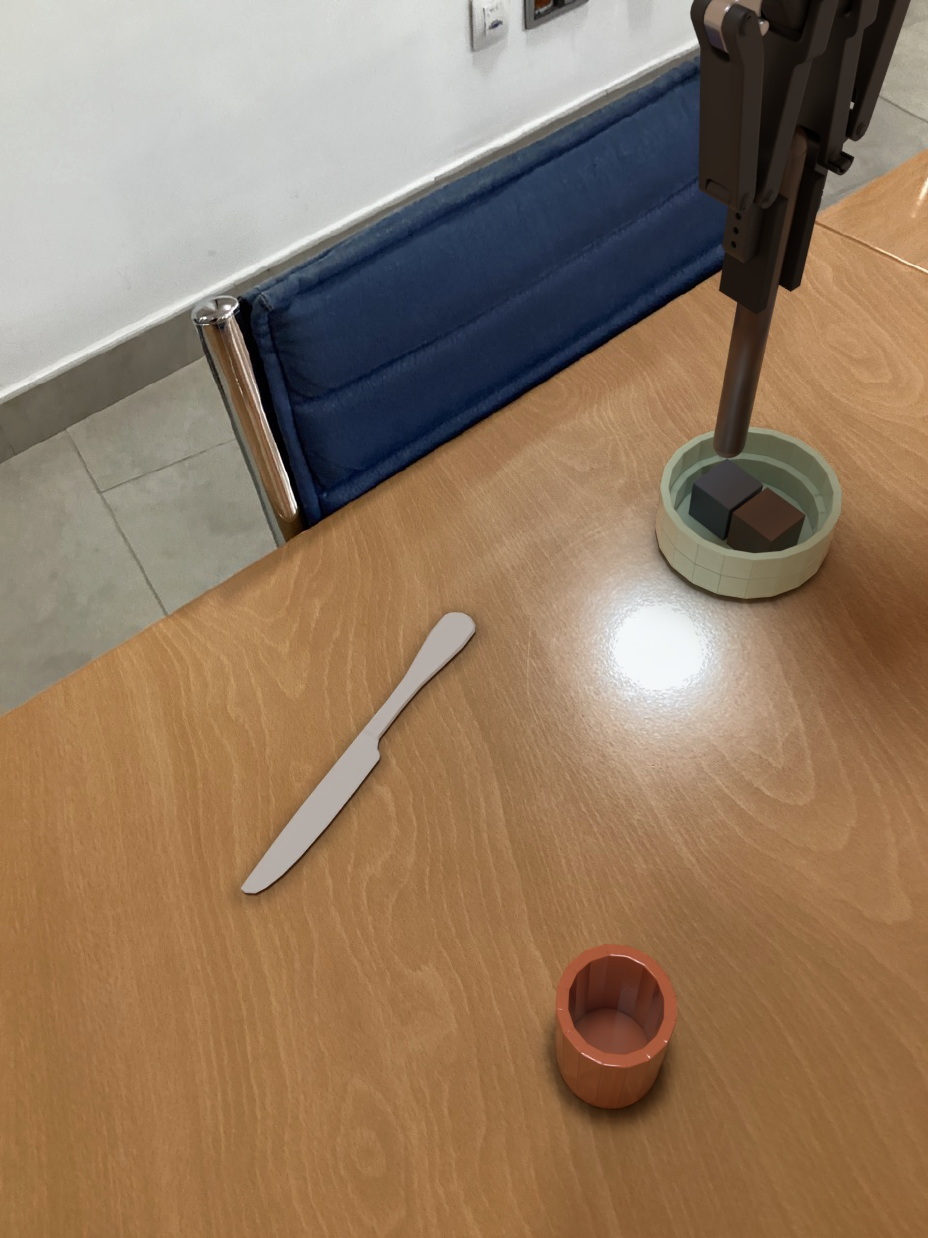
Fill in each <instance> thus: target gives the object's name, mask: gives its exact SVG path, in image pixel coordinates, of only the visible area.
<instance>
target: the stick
mask: <svg viewBox="0 0 928 1238" xmlns="http://www.w3.org/2000/svg"><path fill="white" fill-rule="evenodd" d="M807 149H808V138H807V135H806V133H805V131H804V130H803V129H802V128H801V127H800V126H798V125H796V127H795V130H794V134H793V138H792V142H791V146H790V150H789V154H788V158H787V162H786V166H785V169H784V173H783V177H782V181H781V185H780V189H779V194H781V195H783V196H785V197H786V198H788V199H789V200H788V205H787V210H786V215H785V220H784V225H783V230H782V235H781V239H780V244H779V249H778V254H777V259H776V264H775V269H774V274H773V279H772V284H771V288H770V293H769V298H768V303H767V308H766V309H765V310H763V311H762V312H760V313H759V314H757V315H756V314H755V313H753V312H751V311H750V310H748V309H747V308H745V307H744V306H742V305H740V304H739V303H737V302H736V307H735V312H734V318H733V323H732V330H731V335H730V342H729V347H728V352H727V357H726V364H725V370H724V376H723V381H722V387H721V391H720V399H719V404H718V411H717V415H716V422H715V426H714V427H715V428H714V430H715V432H714V438H713V447H714V450H715V451H716V453H717V454H718V455H720V456H721V457H723V458H734V457H736V456H738V455H739V454H740V453H741V452H742V451H743V450H744V447H745V444H746V439H747V434H748V429H749V426H750V424H751V420H752V414H753V411H754V407H755V401H756V396H757V392H758V387H759V381H760V376H761V372H762V366H763V363H764V358H765V353H766V348H767V342H768V339H769V334H770V329H771V324H772V320H773V316H774V310H775V305H776V301H777V296H778V291H779V286H780V285H779V282H780V277H781V273H782V268H783V263H784V258H785V254H786V249H787V244H788V239H789V235H790V230H791V225H792V220H793V216H794V211H795V206H796V201H797V197H798V192H799V187H800V183H801V178H802V173H803V168H804V164H805V159H806V154H807Z"/></svg>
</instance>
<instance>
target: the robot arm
mask: <svg viewBox="0 0 928 1238" xmlns="http://www.w3.org/2000/svg"><path fill="white" fill-rule="evenodd" d="M911 1H912V0H693V1H692V3H691V6H690V10H689V16H690V21H691V24H692V27H693V30H694V33H695V36H696V39H697V42H698V45H699V54H700V55H699V110H698V111H699V116H698V117H699V119H698V120H699V121H698V122H699V124H698V190H699V191H700V192H701V193H703V194H704V195H705V194H706V195H707V196H708V197H710V198H712V199H714V200H716V201H717V202H718V203H721V204H723V205H725V206H726V207H727V211H726V216H725V217H726V218H725V224H724V230H723V236H722V237H723V238H722V243H721V244H722V249H723V252H724V253H723V261H722V267H721V274H720V279H719V280H720V281H719V287H718V292H720V293H721V294H723V295H725V296H726V297H727V298H729V299H730V300H732V301H734V302H735V303H736V304H737V303H739V304H740V305H742V306H744V307H745V308H747V309H748V310H750V311H751V312H753V313H755V314H756V315H757V314H759V313H760V312H762V311H763V310H765V309H766V308H767V303H768V298H769V293H770V288H771V284H772V279H773V274H774V269H775V264H776V259H777V254H778V249H779V244H780V239H781V235H782V230H783V225H784V220H785V215H786V210H787V205H788V200H789V199H788V198H786V197H785V196H783V195H781V194H779V189H780V185H781V181H782V177H783V173H784V169H785V166H786V162H787V158H788V154H789V150H790V146H791V142H792V138H793V134H794V130H795V127H796V125H798V126H800V127H801V128H802V129H803V130H804V131H805V133H806V135H807V138H808V149H807V154H806V159H805V164H804V168H803V173H802V178H801V183H800V187H799V192H798V197H797V201H796V206H795V211H794V216H793V220H792V225H791V230H790V235H789V239H788V244H787V249H786V254H785V258H784V263H783V268H782V273H781V277H780V282H779V286H780V287H781V288H783V289H785V290H786V291H788V292H790V293H792V292H793V291H794V290H797V288H800V287H801V285H802V279H803V277H804V276H803V275H804V271H805V267H806V263H807V258H808V253H809V250H810V246H811V242H812V237H813V233H814V228H815V224H816V220H817V215H818V212H819V210H820V208H821V205H822V200H823V195H824V190H825V186H826V182H827V179H828V174H829V172H831V173H833V174H834V175H837V176H839V177H840V176H841V177H842V176H844V175H845V174H846V173H847V172H848V171H849V170H850V168H851V167H852V165H853V163H854V160H855V157H856V156H854V155H852V154H850V153H847V152H846V151H844V150H843V148H844V144H845V143H846V142H847V141H849V140H850V141H852V142H854V143H856V142H859V141H860V140H861V139H862V138H863V137H864V136H865V135H866V132H867V131H868V128H869V127H870V123H871V120H872V117H873V115H874V111H875V109H876V106H877V103H878V100H879V96H880V93H881V91H882V87H883V85H884V81H885V79H886V76H887V74H888V70H889V66H890V64H891V61H892V58H893V54H894V51H895V49H896V47H897V43H898V40H899V36H900V34H901V32H902V31H901V30H902V28H903V25H904V22H905V20H906V16H907V14H908V11H909V7H910V3H911ZM851 103H853V105H852V107H851Z"/></svg>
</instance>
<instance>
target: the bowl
mask: <svg viewBox="0 0 928 1238" xmlns="http://www.w3.org/2000/svg"><path fill="white" fill-rule="evenodd" d="M714 432H715V429H714V430H711V431H707V432H705V433H702V434H698V435H696V436H694V437H693V438H691V439H690V440H689V441H687V442H686V443H684V444H683V445H682V446H680V447H678V448H677V449H676V450H675V452H674V453H673V454H672V456H671V457H670V459H669V460H668V461H667V463H665V465H664V468H663V472H662V475H661V479H660V485H659V493H658V500H657V509H656V517H655V518H656V519H655V526H654V527H655V532H656V537H657V538H656V539H657V543H658V547H659V549H660V551H661V552H662V554H663V555H664V557H665V559H666V560H667V562H668V563H669V565H670V566H671V567H672V568H673V569H674V570H675V571H677V572H678V574H680V575H682V577H684V578H685V579H686V580H687V581H689V582H690V583H692V584H693V585H695V586H697V587H700V588H702V589H705V590H707V591H709V592H711V593H714V594H717V595H721V596H728V597H732V598H733V597H734V598H739V599H745V600H747V599H757V598H758V599H760V598H771V597H775V596H778V595H780V594H783V593H786V592H789V591H791V590H794V589H796V588H799V587H801V585H803V584H804V583H805V582H807V581H808V580H809V579H810V578H812V577H813V576H814V575H815V574H817V572H819V569H820V568H821V566H822V564H823V562H824V560H825V559H826V557H827V555H828V552H829V550H830V546H831V543H832V541H833V538H834V535H835V531H836V530H837V529H836V528H837V526H838V523H839V520H840V517H841V514H842V504H843V490H842V487H841V484H840V482H839V478H838V475H837V472H836V471H835V469H833V467H832V466H831V465H830V463H829V462H828V461H827V460H826V459H825V457H824V456H823V455H822V454H821V453H820V452H819V451H817V450H816V449H814V447H811V446H810V445H808V444H807V443H806V442H805V441H803V440H801V439H800V438H798V437H794V436H792V435H789V434H787V433H785V432H781V431H779V430H776V429H773V428H765V427H758V426H750V425H749V429H748V434H747V439H746V444H745V447H744V450H743V451H742V452H741V453H740V454H739V455H738V456H736V457H734V458H723V457H721V456H720V455H718V454H717V453H716V451H715V450H714V447H713V438H714ZM725 459H729V460H730V461H732V462H733V463H734V464H736V465H737V466H739V467H740V468H741V469H743V470H744V471H745V472H747V473H748V474H750V475H751V476H752V477H754V478H755V479H756V480H758V481H759V482H761V483H762V484H763V489H762V491H763V490H764V489H765V488H767V487H768V488H769V489H771V490H772V491H773V492H775V493H776V494H778V495H779V496H780V497H782V498H783V499H784V500H786V501H787V502H789V503H790V504H791V505H793V506H794V507H795V508H797V509H798V510H800V511H801V512H802V513H804V514H805V515H806V516H805V520H804V523H803V526H802V530H801V533H800V537H799V540H798V543H797V545H796V546H794V547H791V548H788V549H785V550H783V551H777V552H765V553H749V552H743V551H737V550H734V549H732V548H731V547H730V546H728V545H727V544H726V543H727V538H726V539H725V540H721V539H720V538H719V537H717V536H716V535H715V534H713V533H712V532H711V531H710V530H708V529H707V528H706V527H704V526H703V525H702V524H701V523H699V522H698V521H697V520H695V519H694V518H693V517H692V516H690V515H689V514H688V512H689V506H690V500H691V493H692V487H693V482H694V481H696V480H697V479H699V478H700V477H701V476H703V475H704V474H706V473H707V472H708V471H710V470H711V469H713V468H714V467H715V466H717V465H718V464H720V463H721V462H722V461H724V460H725Z"/></svg>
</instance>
